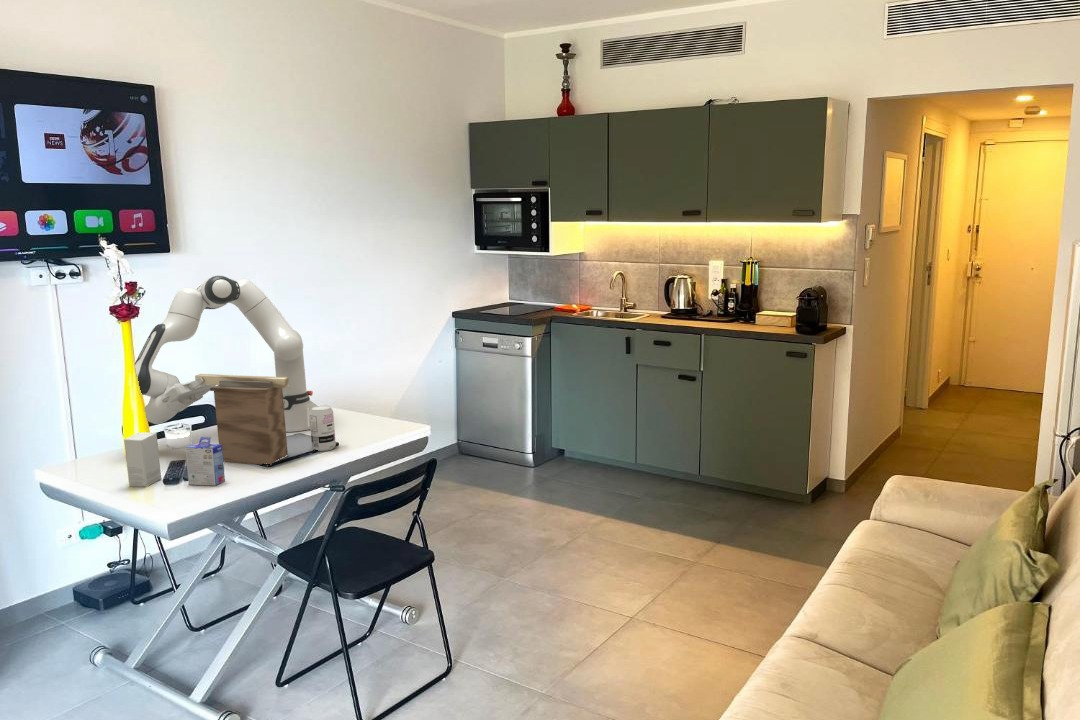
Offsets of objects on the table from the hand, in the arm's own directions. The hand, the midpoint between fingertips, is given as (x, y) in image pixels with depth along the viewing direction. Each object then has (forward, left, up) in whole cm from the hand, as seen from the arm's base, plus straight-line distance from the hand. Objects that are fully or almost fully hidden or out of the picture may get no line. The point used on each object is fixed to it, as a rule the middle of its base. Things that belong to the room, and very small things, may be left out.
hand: (207, 378), depth 289 cm
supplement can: (-17, +33, -28) cm, 47 cm away
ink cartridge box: (+26, +17, -28) cm, 42 cm away
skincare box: (+30, -3, -28) cm, 41 cm away
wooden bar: (0, +14, -2) cm, 14 cm away
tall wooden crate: (0, +16, -28) cm, 33 cm away
